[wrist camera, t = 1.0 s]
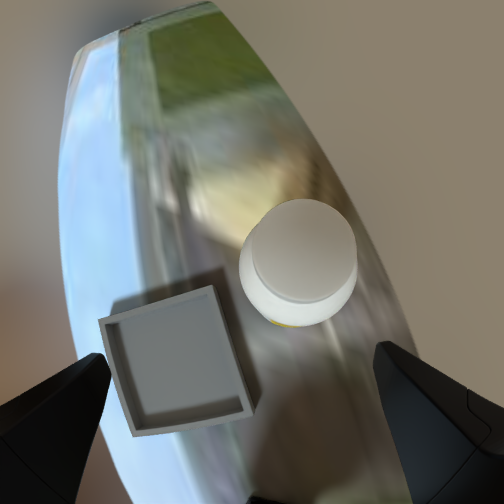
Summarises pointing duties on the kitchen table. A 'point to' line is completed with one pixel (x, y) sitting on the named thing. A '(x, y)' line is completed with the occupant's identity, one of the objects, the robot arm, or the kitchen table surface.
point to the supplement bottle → (299, 263)
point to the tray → (176, 364)
